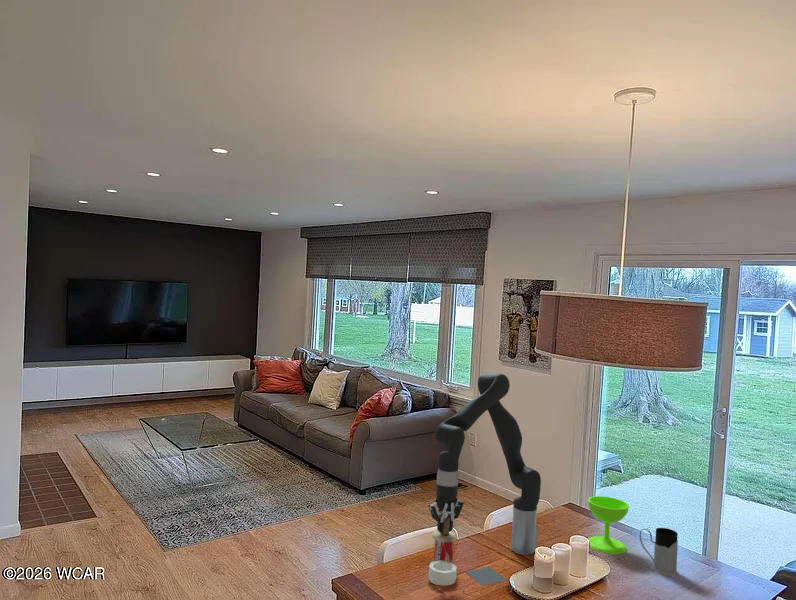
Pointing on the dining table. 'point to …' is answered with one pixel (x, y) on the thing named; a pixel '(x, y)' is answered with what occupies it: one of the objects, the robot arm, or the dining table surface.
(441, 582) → the bowl
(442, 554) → the soda can
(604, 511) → the wineglass
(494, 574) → the mat
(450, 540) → the lid
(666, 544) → the glass holder
